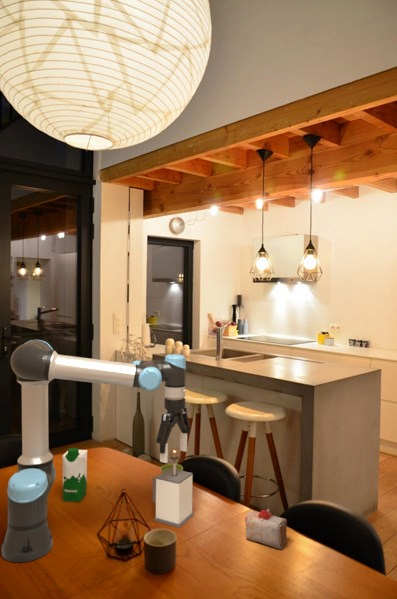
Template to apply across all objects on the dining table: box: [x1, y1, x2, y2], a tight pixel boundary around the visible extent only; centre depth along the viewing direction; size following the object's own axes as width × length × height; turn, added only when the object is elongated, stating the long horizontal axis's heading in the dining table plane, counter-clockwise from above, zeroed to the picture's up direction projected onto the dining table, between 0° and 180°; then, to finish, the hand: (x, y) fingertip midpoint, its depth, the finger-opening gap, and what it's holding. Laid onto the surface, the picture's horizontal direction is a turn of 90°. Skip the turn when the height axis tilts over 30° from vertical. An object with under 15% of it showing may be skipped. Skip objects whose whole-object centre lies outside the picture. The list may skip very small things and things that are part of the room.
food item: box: [244, 508, 288, 550], centre depth 152 cm, size 14×8×10 cm, turn 59°
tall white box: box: [152, 468, 194, 528], centre depth 167 cm, size 10×14×16 cm
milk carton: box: [61, 447, 88, 503], centre depth 182 cm, size 9×9×20 cm
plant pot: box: [160, 463, 184, 474], centre depth 192 cm, size 9×9×9 cm
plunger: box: [168, 447, 181, 476], centre depth 166 cm, size 7×7×20 cm
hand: (173, 456), depth 166 cm, fingers open, 13 cm apart
